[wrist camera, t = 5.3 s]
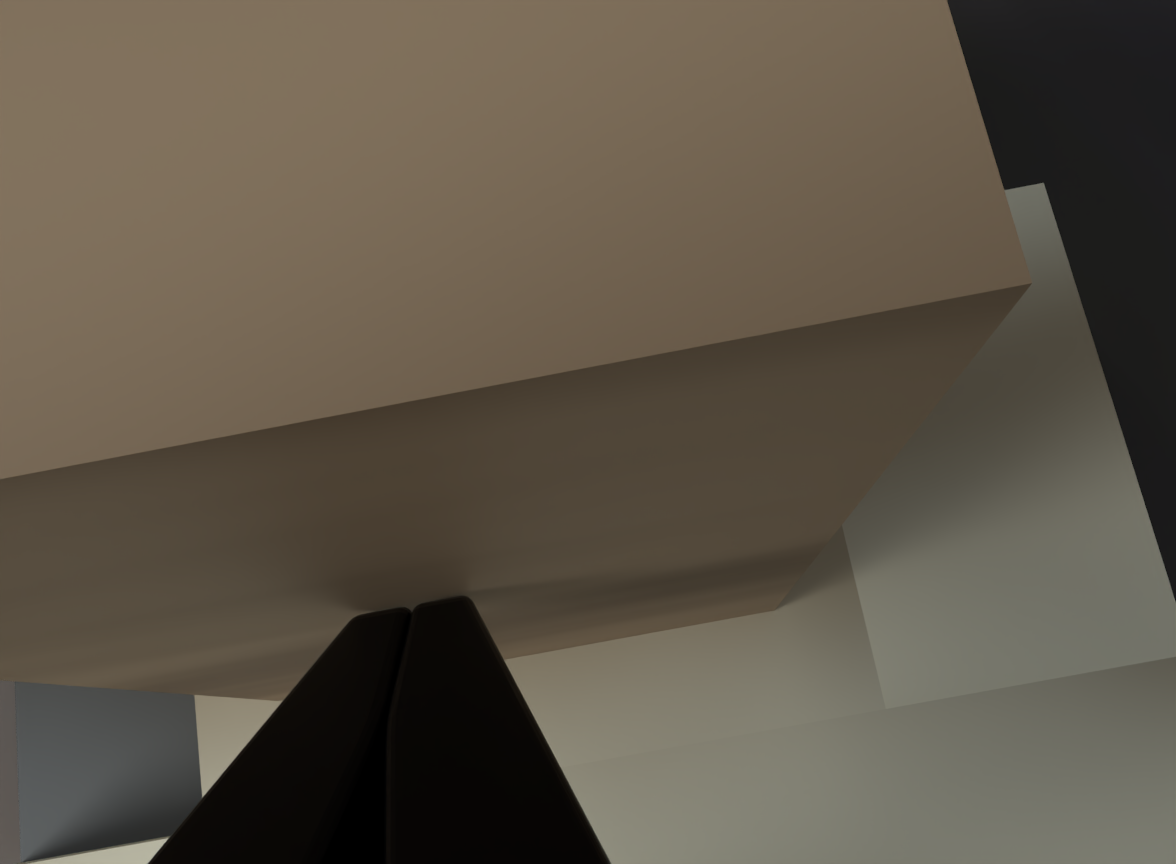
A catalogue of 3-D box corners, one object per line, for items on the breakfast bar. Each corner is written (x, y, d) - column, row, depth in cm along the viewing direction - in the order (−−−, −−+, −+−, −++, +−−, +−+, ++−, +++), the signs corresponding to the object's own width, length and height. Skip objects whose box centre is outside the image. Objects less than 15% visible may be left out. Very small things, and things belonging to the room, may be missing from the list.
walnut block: (774, 609, 13) (1033, 283, 4) (277, 701, 13) (-759, 621, 4) (677, 159, 15) (670, -909, 5) (234, 246, 15) (-567, -629, 5)
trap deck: (1376, 1572, 12) (1544, 1773, 10) (67, 1774, 13) (-74, 2014, 10) (893, -72, 18) (924, -194, 16) (4, 107, 19) (-95, 15, 16)
